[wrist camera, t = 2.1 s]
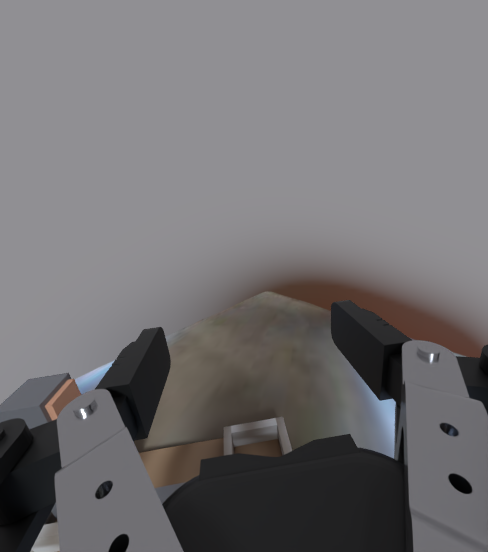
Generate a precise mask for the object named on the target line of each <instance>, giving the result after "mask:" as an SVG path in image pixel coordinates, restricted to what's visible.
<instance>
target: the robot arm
mask: <svg viewBox="0 0 488 552" xmlns="http://www.w3.org/2000/svg"><path fill="white" fill-rule="evenodd" d="M331 334H332V339H333V341H334V343H335V345H336V346H337V348H338V349H339V350H340V351H341V353H342V354H343V355H344V356H345V358H346V359H347V360H348V361H349V363H350V364H351V365H352V366H353V368H354V369H355V370H356V371H357V373H358V374H359V375H360V376H361V378H362V379H363V380H364V381H365V383H366V384H367V385H368V386H369V388H370V389H371V390H372V391H373V393H374V394H375V395H376V396H377V398H378V399H379V400H386V399H392V398H393V399H394V400H395V402H396V407H395V452H394V459H393V458H391V457H389V456H386V455H384V454H381V453H378V452H375V451H372V450H368V449H363V448H357V446H356V444H355V442H354V441H353V439H352V437H351V435H350V434H347V435H341V436H335V437H329V438H324V439H318V440H313V441H311V442H309V443H307V444H305V445H303V446H301V447H299V448H297V449H295V450H293V451H291V452H289V453H287V454H285V455H283V456H280V457H270V456H260V455H251V454H241V453H236V454H230V455H225V456H219V457H213V458H207V459H201V462H200V473H199V475H198V476H196V477H194V478H192V479H191V480H189V481H187V482H186V483H184V484H183V485H182V486H181V487H179V488H178V489H177V490H175V491H174V492H173V493H172V494H171V495H170V496H169V497H168V498H167V499H166V500H165V501H164V503H163V504H162V503H161V501H160V499H159V497H158V495H157V492H156V490H155V488H154V486H153V484H152V481H151V479H150V477H149V475H148V473H147V470H146V468H145V466H144V464H143V462H142V460H141V457H140V455H139V453H138V451H137V449H136V446H135V444H134V440H139V439H145V438H147V437H148V434H149V431H150V428H151V425H152V422H153V419H154V416H155V413H156V410H157V407H158V404H159V401H160V398H161V395H162V392H163V389H164V386H165V383H166V380H167V377H168V374H169V370H170V363H171V362H170V354H169V350H168V346H167V342H166V338H165V335H164V331H163V329H162V328H161V327H157V328H150V329H144V330H143V331H142V332H141V334H140V336H139V337H138V339H137V340H136V341H135V342H132V343H130V344H129V345H128V346H127V347H125V348H124V349H123V350H122V351H121V353H120V354H119V356H118V357H117V360H115V361H114V363H113V364H112V367H110V368H109V370H108V371H107V373H106V374H105V376H104V377H103V378H102V380H101V381H100V383H99V384H98V386H97V387H96V388H95V390H92V391H89V392H86V393H84V394H82V395H80V396H78V397H77V398H75V399H74V400H72V401H71V402H70V403H69V404H67V405H66V406H65V407H64V408H63V409H62V411H61V412H60V414H59V415H58V418H57V419H55V420H53V421H50V422H47V423H45V424H42V425H40V426H37V427H34V428H32V429H29V428H28V426H27V424H26V422H25V421H24V420H23V419H21V418H15V419H10V420H6V421H3V422H1V423H0V552H30V551H31V549H32V547H33V545H34V543H35V541H36V539H37V537H38V535H39V534H40V532H41V530H42V528H43V526H44V524H45V522H46V520H47V518H48V516H49V514H50V512H51V511H52V509H53V507H54V505H55V503H56V507H57V521H58V534H59V548H60V552H488V345H486V346H484V347H483V349H482V353H481V357H480V358H473V357H457V356H455V355H454V354H453V353H452V352H451V351H450V350H448V349H447V348H445V347H443V346H441V345H438V344H435V343H432V342H427V341H421V340H411V339H410V338H408V337H407V336H406V335H404V334H403V333H401V332H400V331H399V330H397V329H396V328H394V327H393V326H392V325H389V323H387V322H386V321H385V320H382V318H380V317H379V316H378V315H376V314H375V313H373V312H370V311H368V310H365V309H361V308H360V307H358V306H357V305H356V304H354V303H353V302H351V301H350V300H347V301H339V302H334V303H332V305H331Z"/></svg>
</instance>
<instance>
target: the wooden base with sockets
mask: <svg viewBox="0 0 488 552" xmlns="http://www.w3.org/2000/svg"><path fill="white" fill-rule="evenodd" d="M291 451H292V448H291V444H290V441H289V437H288V434H287V430H286V427H285V423H284V419H283V417H278V418H272V419H267V420H261V421H256V422H250V423H244V424H239V425H233V426H228V427H224V438H219V439H213V440H208V441H202V442H197V443H191V444H186V445H180V446H174V447H169V448H163V449H158V450H152V451H147V452H141V453H139V455H140V457H141V460H142V462H143V464H144V466H145V468H146V470H147V473H148V475H149V477H150V479H151V481H152V484H153V486H154V488H158V487H163V486H168V485H174V484H179V483H184V482H187V481H189V480H191V479H192V478H194V477H196V476H198V475H199V473H200V462H201V459H207V458H213V457H219V456H225V455H230V454H236V453H241V454H251V455H260V456H270V457H280V456H283V455H285V454H287V453H289V452H291ZM30 552H60V548H59V534H58V521H57V519H56V518H55V516H54V515H53V513H52V511H51V512H50V514H49V516H48V518H47V520H46V522H45V524H44V526H43V528H42V530H41V532H40V534H39V535H38V537H37V539H36V541H35V543H34V545H33V547H32V549H31V551H30Z"/></svg>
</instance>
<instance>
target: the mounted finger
mask: <svg viewBox="0 0 488 552" xmlns="http://www.w3.org/2000/svg"><path fill="white" fill-rule="evenodd" d="M80 395H81V393H80V391H79V389H78V387H77V384H76V382H75V380H74V379H71V377H70V375H69V373H66V374H59V375H53V376H47V377H40V378H34V379H29V380H27V381H26V382H25V383H24V384H23V385H22V386H21V387H20V388H18V389H17V390H16V391H15V392H14V393H13V394H12V395H11V396H10V397H9V398H7V399H6V400H5V401H4V402H3V403H2V404H1V405H0V423H1V422H3V421H6V420H10V419H15V418H21V419H23V420H24V421H25V422H26V424H27V426H28V428H29V429H32V428H34V427H37V426H40V425H42V424H45V423H47V422H50V421H53V420H55V419H57V418H58V415H59V414H60V412H61V411H62V409H63V408H64V407H65V406H66V405H67V404H69V403H70V402H71V401H72V400H74V399H75V398H77V397H78V396H80ZM52 513H53V515H54V516H55V518H56V519H57V507H56V503H55V505H54V507H53V509H52Z"/></svg>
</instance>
